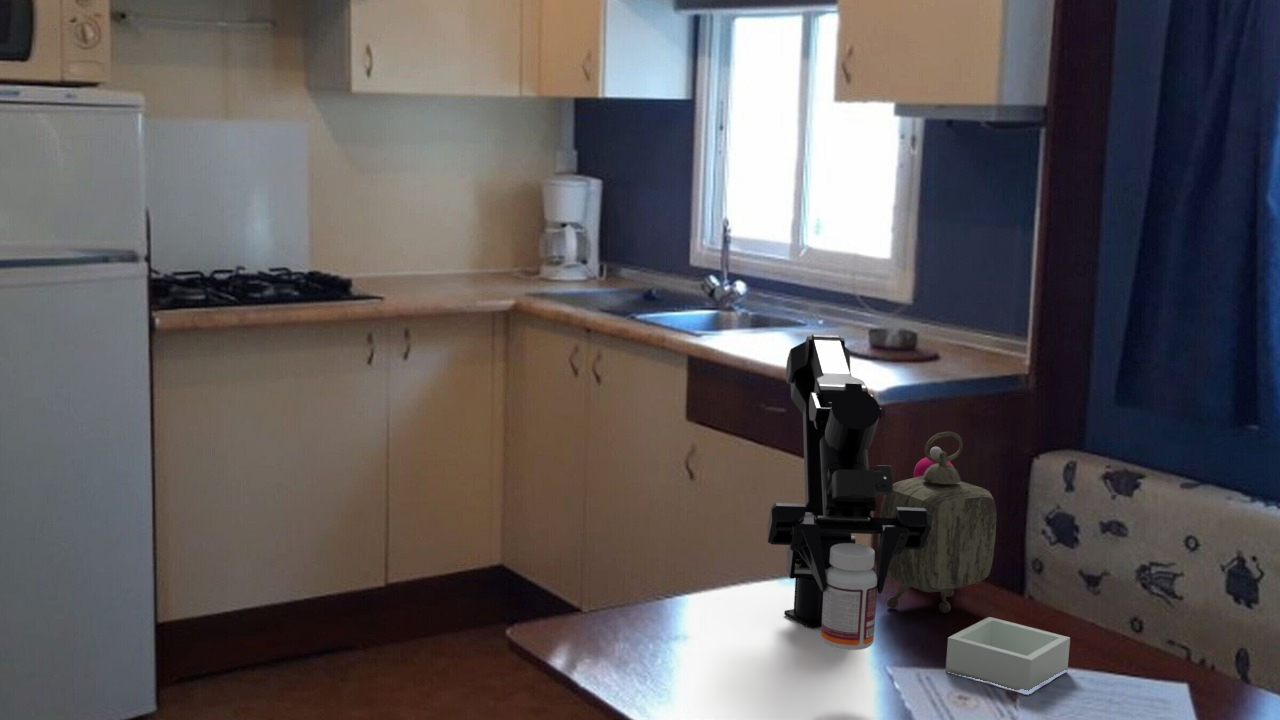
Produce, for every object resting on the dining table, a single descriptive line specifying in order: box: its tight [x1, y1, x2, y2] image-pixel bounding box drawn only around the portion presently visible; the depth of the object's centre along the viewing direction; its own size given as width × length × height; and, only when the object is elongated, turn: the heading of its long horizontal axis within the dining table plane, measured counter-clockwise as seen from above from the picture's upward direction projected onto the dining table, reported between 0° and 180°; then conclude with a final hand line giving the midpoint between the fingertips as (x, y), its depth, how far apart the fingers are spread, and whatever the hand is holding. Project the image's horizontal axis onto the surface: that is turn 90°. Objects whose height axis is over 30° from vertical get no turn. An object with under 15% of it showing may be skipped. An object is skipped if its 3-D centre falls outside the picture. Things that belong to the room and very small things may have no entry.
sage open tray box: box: [945, 616, 1071, 691], centre depth 193 cm, size 11×11×4 cm
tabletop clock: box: [877, 431, 997, 614], centre depth 215 cm, size 14×9×25 cm, turn 124°
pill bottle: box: [820, 543, 878, 651], centre depth 182 cm, size 6×6×11 cm
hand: (852, 591), depth 181 cm, fingers closed on pill bottle, 6 cm apart
